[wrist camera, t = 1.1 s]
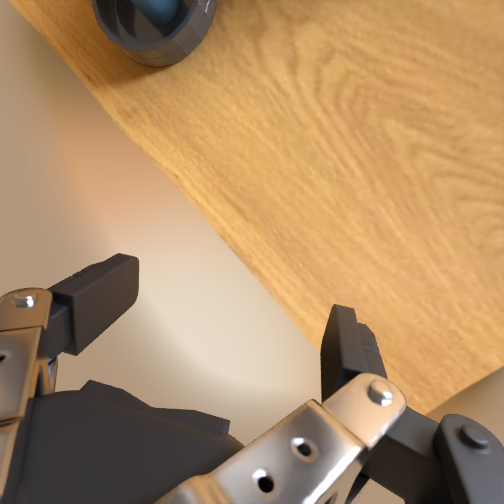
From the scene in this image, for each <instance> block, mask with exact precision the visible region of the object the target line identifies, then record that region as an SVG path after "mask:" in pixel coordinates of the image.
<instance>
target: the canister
mask: <svg viewBox="0 0 504 504" xmlns="http://www.w3.org/2000/svg"><path fill="white" fill-rule="evenodd" d="M131 1H132V3H133V4H134V5H135V6H136V7H137V8H138V9H139V10H140V11H141V13H142V14H143V15H144V16H145V17H146V18H147V19H148V20H149V21H150V22H151V23H152V24H154V25H158V26H162V25H165V24H167V23H169V22H170V21H171V20H172V19H173V18H174V17H175V16H176V14H177V12H178V9H179V0H131Z"/></svg>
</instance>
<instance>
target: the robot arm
mask: <svg viewBox="0 0 504 504" xmlns="http://www.w3.org/2000/svg"><path fill="white" fill-rule="evenodd" d="M138 288H139V260H138V258H137V257H134V256H129V255H125V254H121V253H118V254H116V255H114V256H112V257H111V258H109V259H107V260H105V261H103V262H100V263H96V264H93V265H90V266H88V267H86V268H84V269H82V270H81V271H80V272H77V273H75V274H73V275H72V277H71V276H70V277H68V278H66V279H64V280H62V281H61V282H59V283H57V284H55V285H53V286H52V287H50V288H48V289H42V288H23V289H18V290H14V291H11V292H9V293H7V294H5V295H3V296H2V297H0V504H354V503H355V502H356V501H357V499H358V498H359V497H360V495H361V494H362V493H363V491H364V490H365V489H366V488H367V486H368V485H369V484H370V482H371V481H372V480H374V481H375V482H377V483H378V484H380V485H382V486H383V487H385V488H386V489H388V490H390V491H391V492H393V493H394V494H396V495H398V496H399V497H401V498H402V499H404V501H405V504H504V447H503V445H502V444H501V443H500V441H499V440H498V439H497V438H496V437H495V436H494V435H493V434H492V433H491V432H490V431H489V430H487V429H486V428H485V427H484V426H482V425H481V424H479V423H477V422H476V421H474V420H472V419H470V418H467V417H465V416H462V415H458V414H448V415H445V416H444V417H443V418H442V420H441V421H440V423H438V422H436V421H434V420H432V419H430V418H427V417H426V416H424V415H422V414H420V413H418V412H416V411H414V410H413V409H411V408H410V407H408V406H407V402H406V398H405V396H404V394H403V393H402V391H401V390H400V389H399V388H398V387H397V386H396V385H395V384H393V383H392V382H391V381H389V380H388V378H387V375H386V371H385V368H384V365H383V362H382V358H381V355H380V354H379V348H378V346H377V342H376V339H375V335H374V334H373V332H372V331H371V330H370V329H369V328H368V327H367V325H365V324H361V323H357V319H356V315H355V311H354V308H350V307H345V306H341V305H337V304H334V305H333V306H332V309H331V312H330V316H329V319H328V322H327V326H326V329H325V332H324V336H323V340H322V344H321V353H320V356H321V395H322V404H319V403H318V402H317V401H316V400H314V399H311V400H308V401H307V402H305V403H304V404H303V405H301V406H300V407H298V408H297V409H296V410H294V411H293V412H292V413H290V414H289V415H288V416H286V417H285V418H284V419H282V420H281V421H280V422H278V423H277V424H276V425H274V426H273V427H271V428H270V429H269V430H267V431H266V432H265V433H263V434H262V435H261V436H259V437H258V438H257V439H255V440H254V441H252V442H251V443H250V444H249V445H247V446H246V447H245V446H244V445H243V444H241V443H240V442H239V441H238V440H236V439H235V438H234V437H232V436H231V435H229V434H228V430H229V425H230V420H226V419H223V418H219V417H216V416H213V415H209V414H206V413H202V412H199V411H195V410H182V409H166V408H154V407H151V406H149V405H147V404H146V403H144V402H142V401H141V400H139V399H138V398H136V397H134V396H133V395H131V394H130V393H128V392H126V391H125V390H123V389H120V388H116V387H113V386H110V385H106V384H103V383H99V382H96V381H93V380H89V381H88V382H87V383H86V384H85V385H84V386H83V387H82V388H81V389H80V390H72V391H61V392H55V386H56V377H57V368H58V357H57V355H59V354H60V353H61V352H64V353H68V354H71V355H75V356H77V355H78V354H79V353H80V352H82V351H83V350H84V349H85V348H86V347H87V346H88V345H89V344H90V343H91V342H93V341H94V340H95V339H96V338H97V337H98V336H99V335H100V334H101V333H103V332H104V331H105V330H106V329H107V328H108V327H109V326H110V325H111V324H113V323H114V322H115V321H116V320H117V319H118V318H119V317H120V316H121V315H122V314H124V313H125V312H126V311H127V310H128V309H129V308H130V307H131V306H132V305H133V304H134V303H135V301H136V299H137V296H138Z"/></svg>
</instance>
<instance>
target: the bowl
mask: <svg viewBox="0 0 504 504" xmlns="http://www.w3.org/2000/svg"><path fill="white" fill-rule="evenodd" d="M92 6H93V9H94V13H95V16H96V19H97V22H98V25H99V26H100V28H101V29H102V30H103V32H104V33H105V35H106V36H107V37H108V39H109V40H110V41H112V42H113V43H114V44H115V45H116V46H118V47H119V48H120V49H121V50H122V51H124V52H125V53H126V54H127V55H128V56H130V57H131V58H133V59H134V60H136V61H137V62H139V63H141V64H145V65H150V66H154V67H155V66H156V67H157V66H163V65H169V64H173V63H175V62H177V61H178V60H180V59H182V58H184V57H186V56H187V55H189V54H190V53H191V52H192V51H193V50H194V49H195V48H196V47H197V46H198V45H199V43H200V42H201V41H202V39H203V37H204V36H205V34H206V32H207V30H208V28H209V27H210V25H211V22H212V19H213V15H214V11H215V7H216V0H179V9H178V12H177V14H176V16H175V17H174V18H173V19H172V20H171V21H170V22H169V23H167V24H165V25H162V26H158V25H154V24H152V23H151V22H150V21H149V20H148V19H147V18H146V17H145V16H144V15H143V14H142V13H141V11H140V10H139V9H138V8H137V7H136V6H135V5H134V4H133V3H132V1H131V0H92Z"/></svg>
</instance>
